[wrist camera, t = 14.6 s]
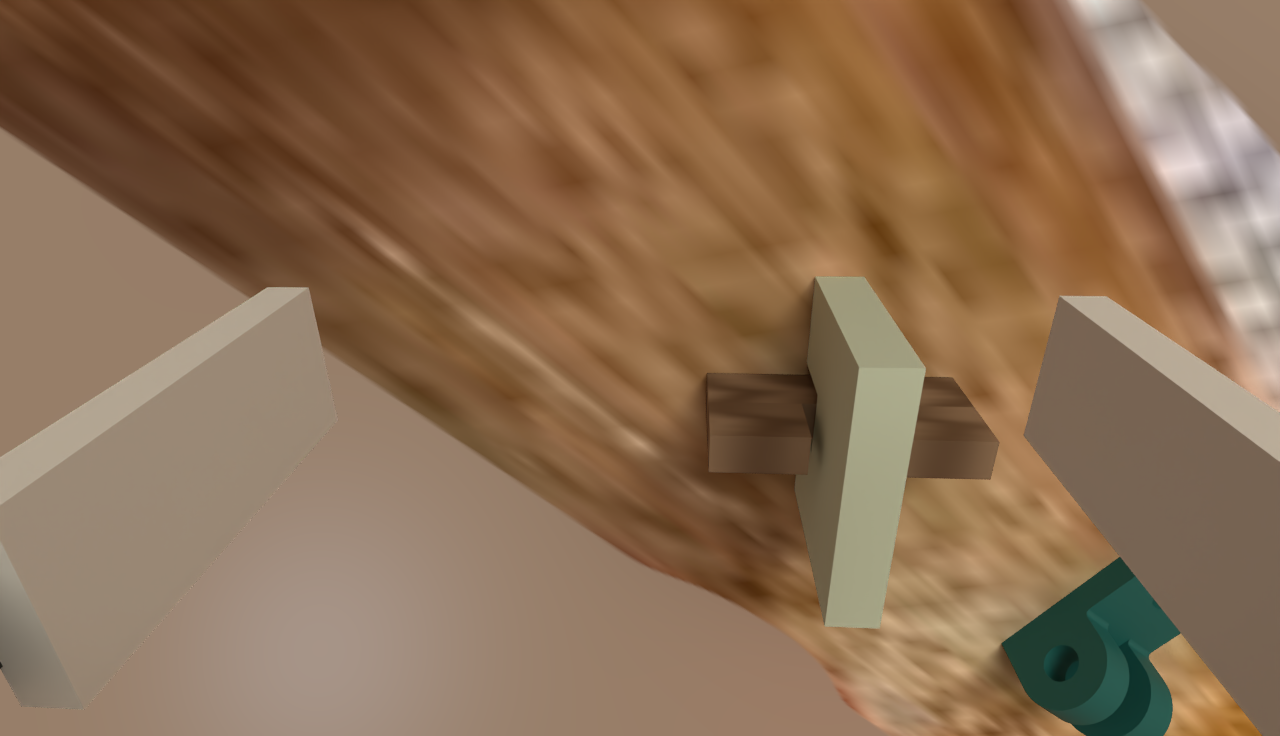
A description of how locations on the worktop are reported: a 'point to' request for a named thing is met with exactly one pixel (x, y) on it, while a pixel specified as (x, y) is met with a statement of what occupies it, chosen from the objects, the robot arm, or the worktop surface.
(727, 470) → the walnut slotted plate
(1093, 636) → the bracket
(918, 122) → the worktop surface
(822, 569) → the sage slotted plate
